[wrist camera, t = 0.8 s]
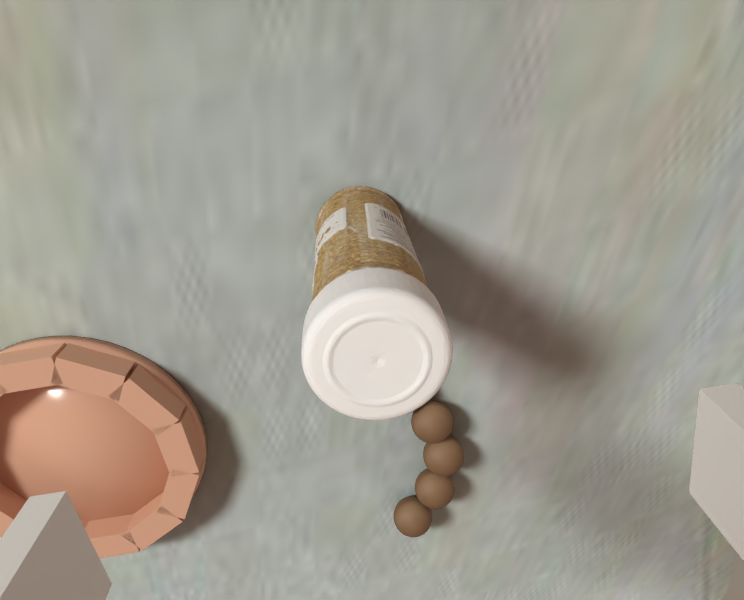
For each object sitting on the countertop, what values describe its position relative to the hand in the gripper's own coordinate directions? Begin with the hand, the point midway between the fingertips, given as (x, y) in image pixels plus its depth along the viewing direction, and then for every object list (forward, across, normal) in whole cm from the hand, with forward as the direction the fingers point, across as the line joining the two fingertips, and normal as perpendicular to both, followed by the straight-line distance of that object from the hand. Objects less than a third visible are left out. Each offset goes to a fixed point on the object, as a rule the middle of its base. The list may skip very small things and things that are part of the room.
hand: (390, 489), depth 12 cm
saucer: (+18, -18, -10) cm, 28 cm away
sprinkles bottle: (+19, 0, 0) cm, 19 cm away
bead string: (+18, +1, -14) cm, 23 cm away
